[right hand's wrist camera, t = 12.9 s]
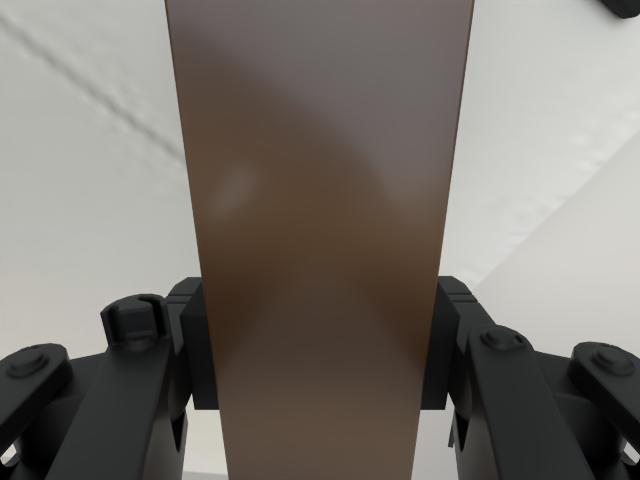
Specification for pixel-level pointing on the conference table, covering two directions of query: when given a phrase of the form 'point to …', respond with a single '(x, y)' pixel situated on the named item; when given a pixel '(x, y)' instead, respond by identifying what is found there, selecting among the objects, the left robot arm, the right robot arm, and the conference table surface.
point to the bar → (319, 219)
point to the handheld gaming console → (624, 7)
